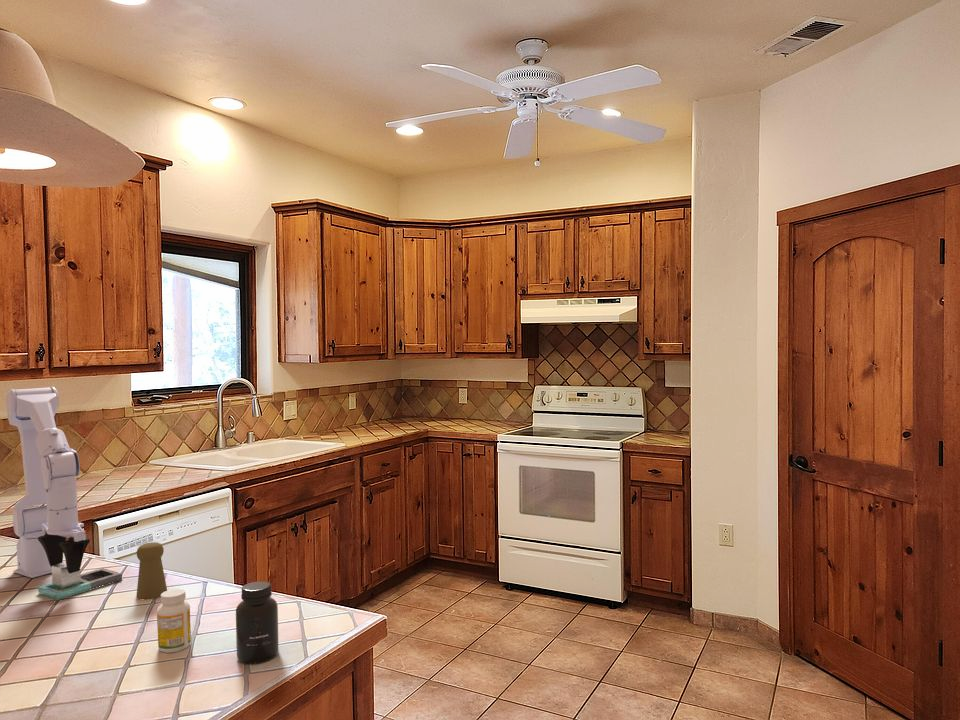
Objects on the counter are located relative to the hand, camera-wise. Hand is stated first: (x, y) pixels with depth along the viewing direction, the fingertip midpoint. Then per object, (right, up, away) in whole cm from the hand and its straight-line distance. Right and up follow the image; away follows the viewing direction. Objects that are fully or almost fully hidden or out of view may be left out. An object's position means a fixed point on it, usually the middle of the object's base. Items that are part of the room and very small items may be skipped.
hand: (65, 568), depth 151 cm
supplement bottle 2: (+53, -5, -34) cm, 63 cm away
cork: (+21, -5, -3) cm, 21 cm away
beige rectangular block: (0, -5, 0) cm, 5 cm away
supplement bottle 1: (+37, -5, -29) cm, 48 cm away
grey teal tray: (+2, -5, +3) cm, 6 cm away
